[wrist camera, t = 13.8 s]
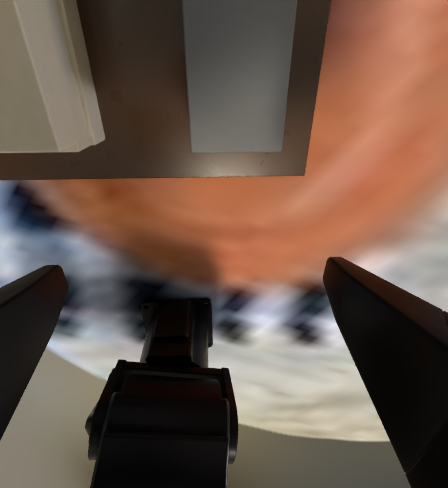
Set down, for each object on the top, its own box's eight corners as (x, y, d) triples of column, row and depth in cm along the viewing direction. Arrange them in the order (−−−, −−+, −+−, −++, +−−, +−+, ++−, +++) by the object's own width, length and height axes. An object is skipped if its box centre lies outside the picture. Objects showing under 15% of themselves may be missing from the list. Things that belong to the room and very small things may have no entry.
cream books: (105, 139, 17) (83, 152, 14) (7, 140, 17) (-39, 153, 14) (47, -138, 11) (-13, -218, 8) (-102, -142, 11) (-221, -228, 8)
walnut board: (299, 171, 20) (304, 175, 19) (-12, 175, 19) (-25, 181, 18) (352, -200, 12) (366, -227, 11) (-191, -223, 11) (-234, -256, 10)
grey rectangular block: (271, 146, 18) (284, 159, 15) (194, 146, 18) (191, 160, 14) (296, -148, 12) (328, -231, 9) (178, -152, 11) (167, -238, 8)
